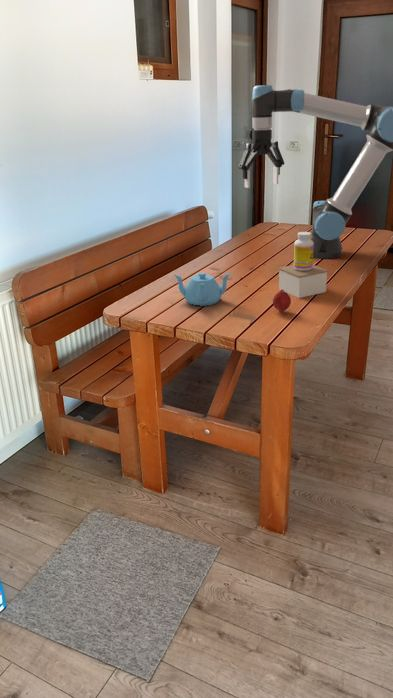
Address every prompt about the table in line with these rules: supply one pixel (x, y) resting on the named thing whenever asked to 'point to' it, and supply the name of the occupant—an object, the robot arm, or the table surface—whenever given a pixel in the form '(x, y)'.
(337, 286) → the table surface
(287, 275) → the riser block
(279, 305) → the onion
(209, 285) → the teapot
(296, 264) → the supplement bottle
